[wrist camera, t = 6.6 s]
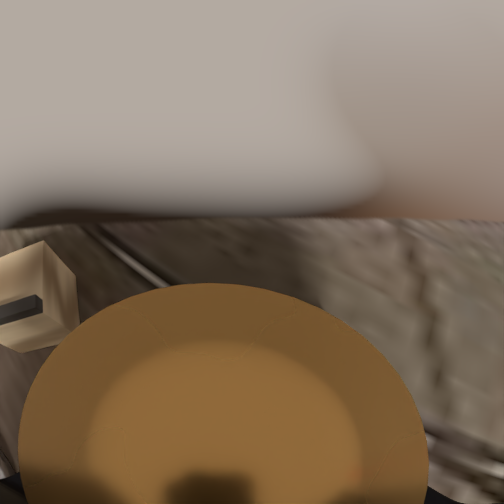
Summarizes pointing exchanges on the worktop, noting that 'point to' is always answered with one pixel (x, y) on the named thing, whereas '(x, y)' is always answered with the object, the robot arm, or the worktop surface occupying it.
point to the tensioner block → (36, 299)
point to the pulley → (5, 467)
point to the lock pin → (219, 407)
